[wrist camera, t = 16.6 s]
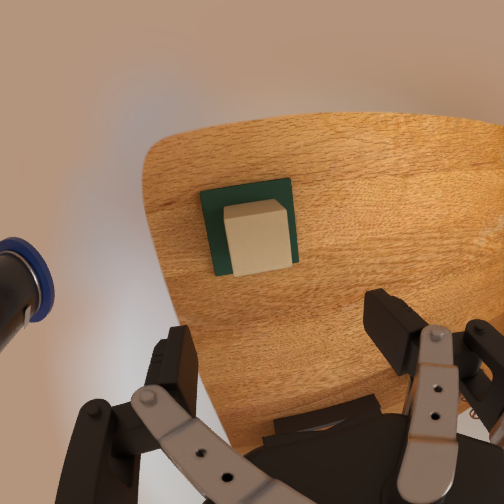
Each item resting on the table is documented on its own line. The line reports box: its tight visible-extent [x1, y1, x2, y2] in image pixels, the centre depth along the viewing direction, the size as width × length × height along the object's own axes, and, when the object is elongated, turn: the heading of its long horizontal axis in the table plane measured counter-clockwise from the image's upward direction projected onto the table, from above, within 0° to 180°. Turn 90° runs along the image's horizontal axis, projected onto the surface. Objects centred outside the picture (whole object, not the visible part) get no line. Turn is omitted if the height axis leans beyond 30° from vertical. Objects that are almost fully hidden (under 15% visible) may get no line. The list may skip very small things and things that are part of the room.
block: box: [224, 199, 292, 277], centre depth 23 cm, size 4×4×5 cm
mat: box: [200, 178, 299, 276], centre depth 26 cm, size 8×8×1 cm
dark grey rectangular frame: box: [274, 394, 381, 435], centre depth 38 cm, size 16×20×3 cm
